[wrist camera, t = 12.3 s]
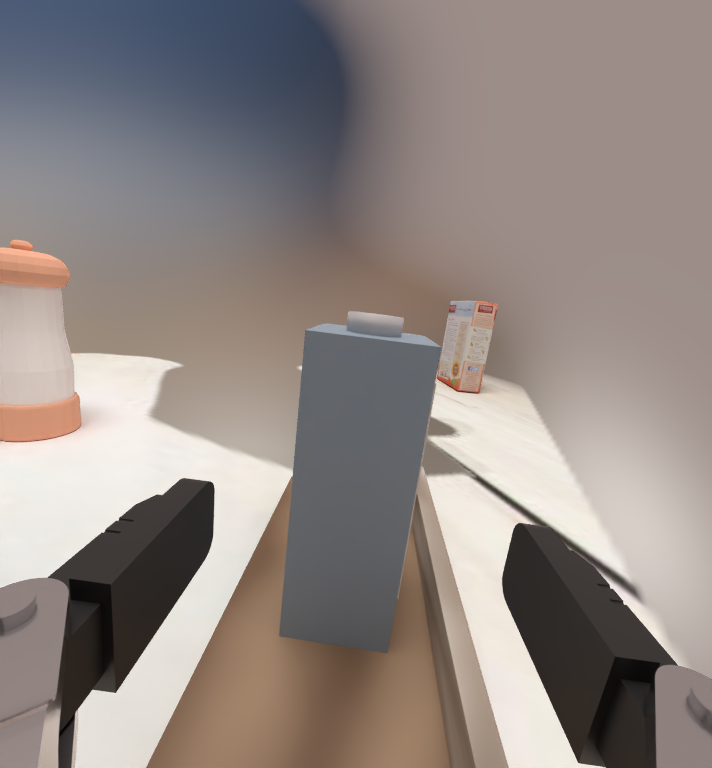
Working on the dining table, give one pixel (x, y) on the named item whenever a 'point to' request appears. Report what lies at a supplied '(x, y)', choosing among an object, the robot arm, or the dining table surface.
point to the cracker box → (466, 344)
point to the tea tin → (355, 478)
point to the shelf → (338, 677)
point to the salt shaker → (34, 348)
